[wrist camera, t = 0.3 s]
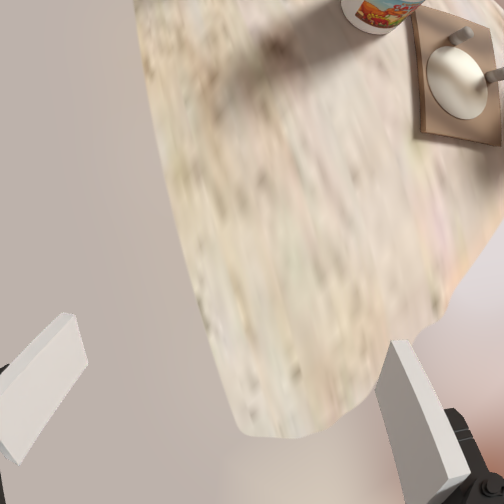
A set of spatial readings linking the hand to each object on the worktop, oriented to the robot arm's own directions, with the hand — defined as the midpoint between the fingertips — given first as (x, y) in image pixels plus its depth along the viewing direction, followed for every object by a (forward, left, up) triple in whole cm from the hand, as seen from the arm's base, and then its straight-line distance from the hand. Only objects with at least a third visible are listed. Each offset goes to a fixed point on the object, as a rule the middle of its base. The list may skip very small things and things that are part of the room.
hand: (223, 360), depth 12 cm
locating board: (-21, +27, -27) cm, 44 cm away
